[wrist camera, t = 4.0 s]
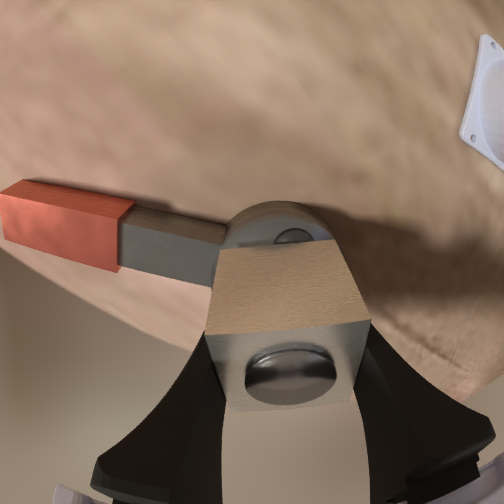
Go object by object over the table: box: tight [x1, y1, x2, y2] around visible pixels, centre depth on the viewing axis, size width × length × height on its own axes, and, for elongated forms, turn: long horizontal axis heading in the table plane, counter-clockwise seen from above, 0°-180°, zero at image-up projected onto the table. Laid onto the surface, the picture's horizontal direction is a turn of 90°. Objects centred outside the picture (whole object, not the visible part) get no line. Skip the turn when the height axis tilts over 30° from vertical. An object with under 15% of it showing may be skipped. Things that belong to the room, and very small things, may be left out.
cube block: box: [204, 239, 371, 412], centre depth 11 cm, size 5×5×5 cm
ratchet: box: [0, 180, 346, 289], centre depth 14 cm, size 21×7×5 cm, turn 76°
